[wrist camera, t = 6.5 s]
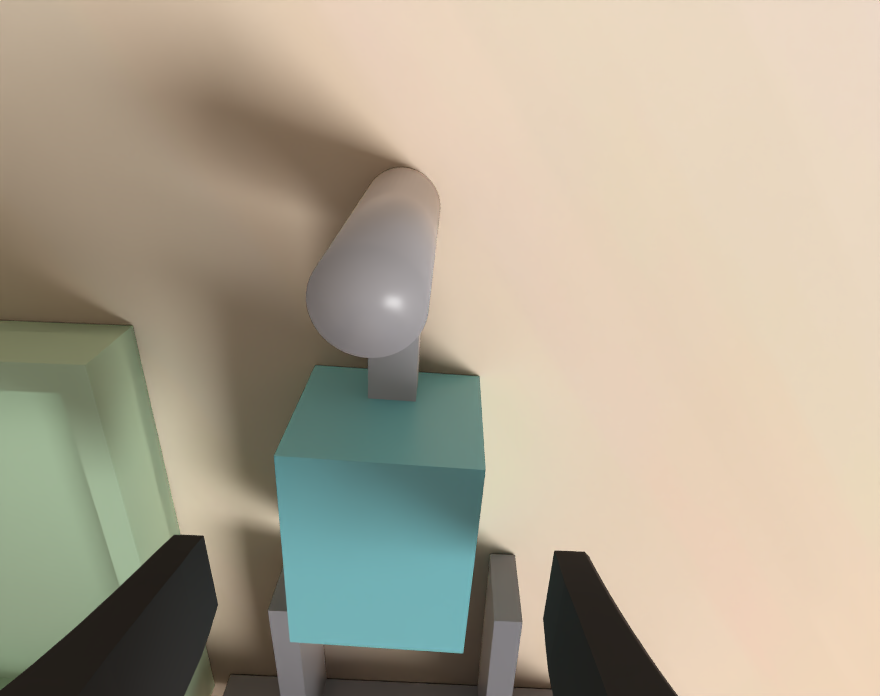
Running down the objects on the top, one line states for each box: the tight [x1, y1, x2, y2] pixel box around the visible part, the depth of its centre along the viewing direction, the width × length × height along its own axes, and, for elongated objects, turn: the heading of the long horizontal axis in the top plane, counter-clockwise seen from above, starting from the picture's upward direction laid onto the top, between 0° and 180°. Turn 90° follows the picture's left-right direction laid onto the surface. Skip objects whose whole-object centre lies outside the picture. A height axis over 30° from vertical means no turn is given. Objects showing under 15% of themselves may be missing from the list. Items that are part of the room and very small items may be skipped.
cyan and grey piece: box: [274, 167, 485, 653], centre depth 13 cm, size 11×4×6 cm, turn 176°
